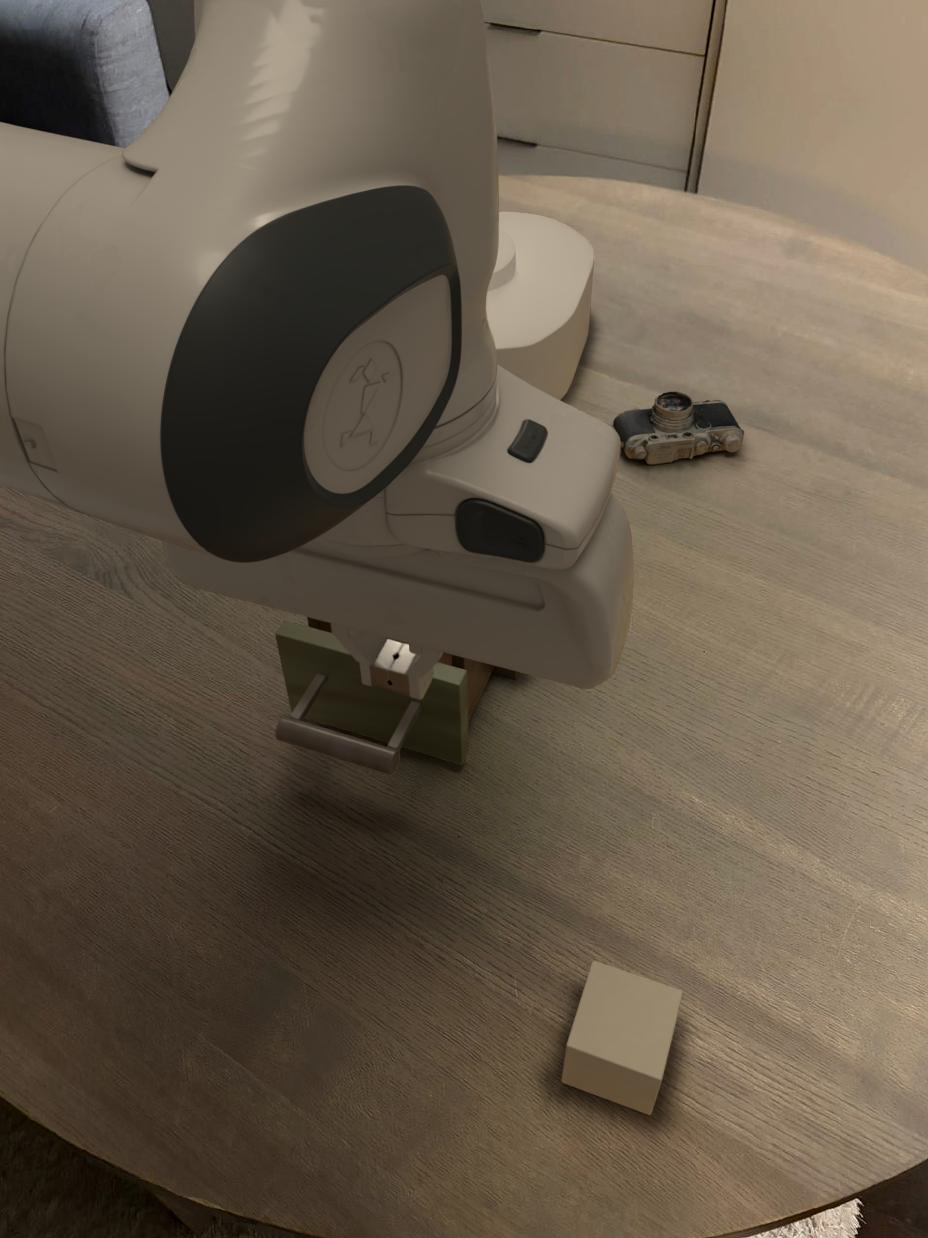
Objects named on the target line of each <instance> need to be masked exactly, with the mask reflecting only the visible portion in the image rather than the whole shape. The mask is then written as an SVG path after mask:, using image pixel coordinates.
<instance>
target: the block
mask: <svg viewBox="0 0 928 1238" xmlns="http://www.w3.org/2000/svg"><path fill="white" fill-rule="evenodd" d="M683 995H684V990H683V989H679V988H676V987H673V986H672V985H671V986H670V985H668V984H665V983H661V982H659V981H656V980H653V979H650V978H646V977H644V976H641V975H638V974H636V973H632V972H629V971H626V970H623V969H621V968H618V967H614V966H612V965H609V964H606V963H603V962H599V961H596V960H592V961H591V964H590V968H589V970H588V973H587V977H586V980H585V984H584V986H583V990H582V993H581V997H580V999H579V1003H578V1006H577V1009H576V1013H575V1016H574V1019H573V1022H572V1025H571V1027H570V1028H571V1029H570V1032H569V1035H568V1038H567V1041H566V1045H565V1052H564V1058H563V1059H564V1060H563V1065H562V1066H563V1067H562V1074H561V1083H563V1084H564V1085H568V1086H570V1087H573V1088H575V1089H578V1090H581V1091H583V1092H586V1093H588V1094H590V1095H594V1096H597V1097H599V1098H602V1099H604V1100H607V1101H610V1102H612V1103H615V1104H618V1105H621V1106H624V1107H626V1108H629V1109H631V1110H633V1111H637V1112H640V1113H642V1114H645V1115H648V1116H651V1115H652V1113H653V1110H654V1107H655V1105H656V1101H657V1099H658V1095H659V1091H660V1088H661V1085H662V1082H663V1078H664V1074H665V1071H666V1066H667V1062H668V1058H669V1054H670V1049H671V1046H672V1043H673V1042H672V1041H673V1038H674V1034H675V1033H674V1032H675V1028H676V1026H677V1025H676V1024H677V1021H678V1016H679V1012H680V1008H681V1005H682V1000H683Z"/></svg>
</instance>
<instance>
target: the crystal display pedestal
mask: <svg viewBox="0 0 928 1238" xmlns="http://www.w3.org/2000/svg"><path fill="white" fill-rule="evenodd" d="M594 266H595V250H594V247H593V246H592V244H591V242H590V241H589V240H588V239H587V238H586V237H585V236H584V235H582V234H581V233H579V232H578V231H577V230H575V229H574V228H573V227H570V226H568V225H567V224H565V223H563V222H562V221H559V220H557V219H555V218H551V217H548V216H545V215H542V214H541V215H540V214H535V213H529V212H516V211H500V210H499V247H498V255H497V260H496V265H495V268H494V271H493V274H492V277H491V280H490V283H489V287H488V291H487V298H486V311H487V319H488V323H489V326H490V329H491V332H492V335H493V338H494V342H495V346H496V354H497V364H498V365H499V366H501V367H502V368H504V369H506V370H507V371H509V372H510V373H512V374H513V375H515V376H517V377H518V378H520V379H522V380H523V381H525V382H527V383H528V384H530V385H532V386H534V387H536V388H537V389H539V390H541V391H543V392H545V393H547V394H549V395H550V396H552V397H554V398H556V399H558V400H560V401H562V400H563V398H564V397H565V395H566V394H567V393H568V391H569V389H570V387H571V386H572V382H573V380H574V377H575V375H576V372H577V369H578V366H579V363H580V361H581V358H582V355H583V352H584V349H585V346H586V343H587V341H588V337H589V330H590V319H591V317H590V316H591V305H592V295H593V294H592V292H593V281H594V268H595V267H594Z"/></svg>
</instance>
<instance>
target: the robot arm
mask: <svg viewBox="0 0 928 1238" xmlns="http://www.w3.org/2000/svg"><path fill="white" fill-rule="evenodd" d="M193 14H194V15H193V19H194V42H193V45H192V48H191V50H190V54H189V56H188V60H187V62H186V64H185V66H184V69H183V71H182V73H181V74H180V76H179V78H178V81H177V82H176V85H175V86H174V88H173V90H172V91H171V94H170V96H169V97H168V99H167V100H166V102H165V104H164V105H163V107H162V108H161V110H160V111H159V113H158V114H157V115H156V116H155V118H154V119H153V120H152V121H151V123H150V124H149V125H148V126H147V127H146V128H145V130H144V131H143V132H142V133H140V135H139V136H138V137H137V138H136V139H135V140H133V142H131V143H130V144H129V145H128V146H126V147H121V146H115V145H110V144H106V143H101V142H96V141H91V140H87V139H81V138H77V137H72V136H67V135H63V134H58V133H57V134H56V133H53V132H48V131H42V130H38V129H33V128H28V127H23V126H19V125H15V124H11V123H6V122H2V121H0V486H2V487H5V488H7V489H10V490H13V491H16V492H19V493H21V494H24V495H27V496H30V497H33V498H35V499H39V500H40V501H44V502H47V503H50V504H53V505H55V506H58V507H62V508H64V509H67V510H70V511H73V512H75V513H78V514H82V515H86V516H88V517H92V518H95V519H98V520H101V521H104V522H107V523H108V524H109V523H110V524H113V525H116V526H119V527H121V528H124V529H127V530H130V531H132V532H135V533H138V534H141V535H144V536H146V537H150V538H153V539H155V540H159V541H161V543H162V548H163V553H164V557H165V561H166V563H167V565H168V567H169V568H170V569H171V570H172V571H173V572H174V574H175V575H176V576H177V577H178V578H179V579H180V580H181V581H182V582H183V583H184V584H186V585H187V586H189V587H191V588H194V589H198V590H202V591H205V592H206V591H207V592H209V593H213V594H218V595H220V596H221V595H222V596H225V597H229V598H233V599H235V600H236V599H237V600H241V601H245V602H248V603H252V604H256V605H260V606H264V607H267V608H271V609H275V610H279V611H283V612H286V613H291V614H294V615H299V616H302V617H306V618H307V617H309V618H313V619H317V620H321V621H325V622H329V623H331V629H332V633H333V634H334V635H335V637H336V638H337V639H338V640H339V641H340V642H341V644H342V645H343V646H344V647H345V648H346V649H347V651H348V652H349V653H350V654H351V655H352V656H353V658H354V659H355V660H356V661H357V662H359V664H360V672H361V679H362V684H364V685H368V686H372V687H377V688H381V689H384V690H388V691H391V692H395V693H398V694H401V695H405V696H408V697H412V698H415V699H419V700H421V699H423V697H424V695H425V693H426V691H427V689H428V687H429V685H430V683H431V681H432V677H433V673H434V667H433V666H434V665H435V664H436V663H437V662H438V661H439V660H440V658H441V656H442V654H443V652H444V653H448V654H452V655H456V656H460V657H463V658H467V659H471V660H475V661H479V662H483V663H487V664H490V665H494V666H498V667H502V668H506V669H510V670H513V671H517V672H519V673H521V674H524V675H525V674H526V675H528V676H533V677H537V678H541V679H543V680H544V679H545V680H548V681H552V682H556V683H560V684H564V685H566V686H567V685H568V686H571V687H574V688H578V689H583V690H591V689H594V688H596V687H598V686H599V685H602V684H603V683H605V682H607V681H609V680H610V679H611V678H612V677H613V675H614V674H615V671H616V669H617V667H618V664H619V662H620V659H621V656H622V653H623V650H624V647H625V643H626V642H627V641H626V640H627V637H628V633H629V631H630V630H629V629H630V625H631V620H632V614H633V601H634V600H633V599H634V575H635V574H634V548H633V536H632V529H631V525H630V521H629V518H628V515H627V512H626V510H625V509H624V506H623V505H622V504H621V502H620V500H619V499H618V498H617V497H616V496H615V494H614V493H613V492H612V491H613V488H614V484H615V480H616V477H617V472H618V467H619V463H620V458H621V457H620V456H621V448H622V447H621V441H620V437H619V435H618V433H617V432H616V431H615V429H614V427H613V426H611V425H610V424H608V423H606V422H605V421H603V420H601V419H599V418H597V417H595V416H593V415H591V414H589V413H587V412H585V411H583V410H580V409H579V408H576V407H574V406H572V405H571V404H568V403H566V402H564V401H562V400H558V399H556V398H554V397H552V396H550V395H549V394H547V393H545V392H543V391H541V390H539V389H537V388H536V387H534V386H532V385H530V384H528V383H527V382H525V381H523V380H522V379H520V378H518V377H517V376H515V375H513V374H512V373H510V372H509V371H507V370H506V369H504V368H502V367H501V366H499V365H498V364H497V354H496V346H495V342H494V338H493V335H492V332H491V329H490V326H489V323H488V319H487V311H486V298H487V291H488V287H489V283H490V280H491V277H492V274H493V271H494V268H495V265H496V260H497V255H498V247H499V211H500V177H499V151H498V150H499V149H498V130H497V117H496V104H495V93H494V82H493V74H492V72H493V71H492V65H491V56H490V50H489V49H490V48H489V44H488V37H487V30H486V24H485V19H484V13H483V9H482V4H481V0H193ZM387 638H390V639H394V640H398V641H402V642H406V643H409V644H404V643H401V642H397V641H394V640H390V639H387Z"/></svg>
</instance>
